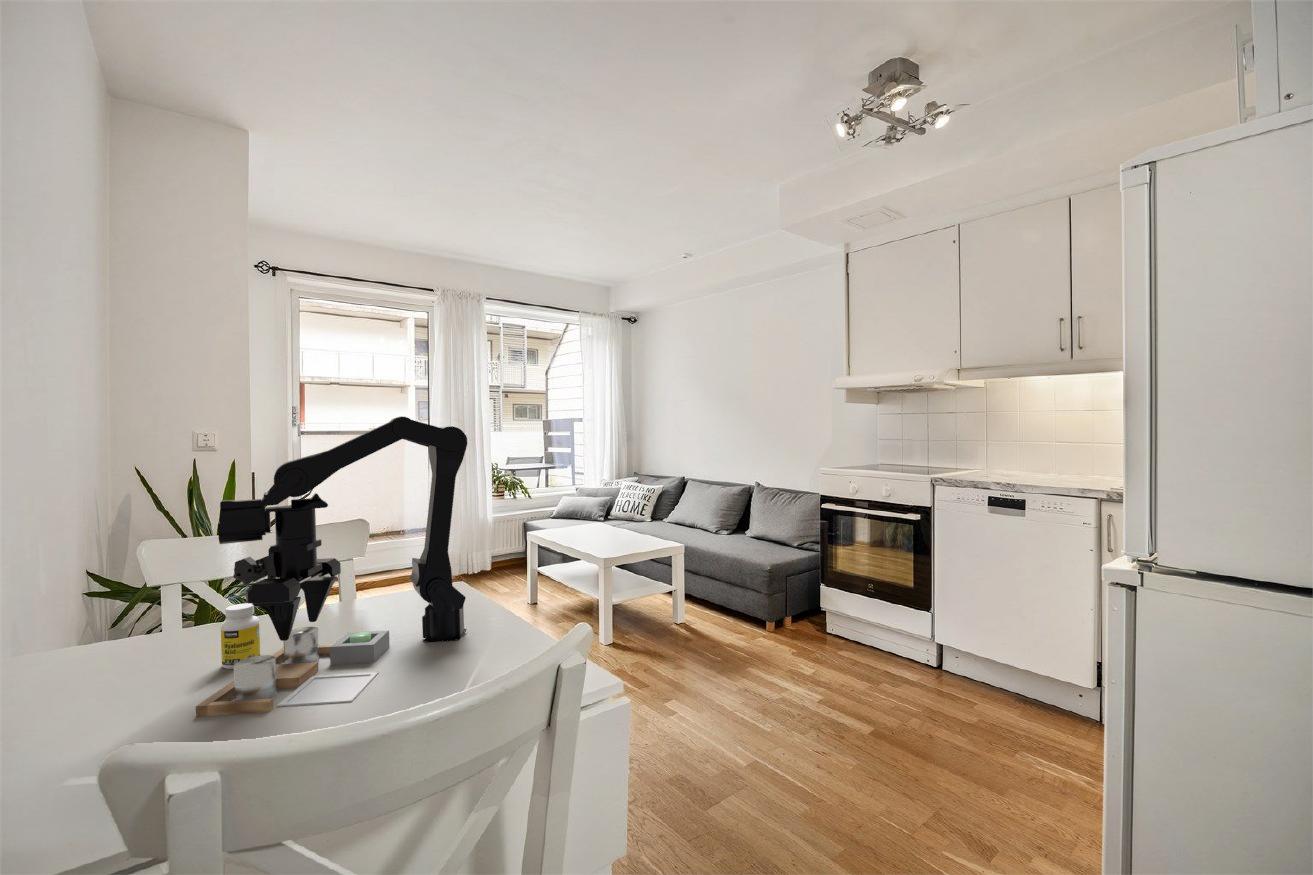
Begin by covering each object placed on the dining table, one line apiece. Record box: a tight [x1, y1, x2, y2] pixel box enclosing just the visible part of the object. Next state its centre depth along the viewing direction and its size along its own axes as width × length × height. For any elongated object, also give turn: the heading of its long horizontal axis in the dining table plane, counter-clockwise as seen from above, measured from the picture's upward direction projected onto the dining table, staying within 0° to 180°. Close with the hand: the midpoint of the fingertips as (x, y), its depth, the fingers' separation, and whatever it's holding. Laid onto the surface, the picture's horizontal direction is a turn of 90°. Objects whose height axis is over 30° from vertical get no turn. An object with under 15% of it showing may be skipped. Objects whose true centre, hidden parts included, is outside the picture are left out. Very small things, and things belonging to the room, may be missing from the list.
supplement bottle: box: [220, 602, 261, 670], centre depth 101 cm, size 5×5×10 cm
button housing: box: [329, 630, 390, 666], centre depth 102 cm, size 7×7×4 cm
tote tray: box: [276, 671, 379, 708], centre depth 88 cm, size 10×10×1 cm
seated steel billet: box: [233, 654, 277, 701], centre depth 86 cm, size 5×5×6 cm
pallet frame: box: [195, 644, 333, 718], centre depth 92 cm, size 10×22×2 cm, turn 5°
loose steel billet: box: [282, 626, 320, 664], centre depth 99 cm, size 5×5×6 cm
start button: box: [350, 631, 371, 643], centre depth 102 cm, size 3×3×3 cm
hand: (299, 630), depth 98 cm, fingers open, 9 cm apart
